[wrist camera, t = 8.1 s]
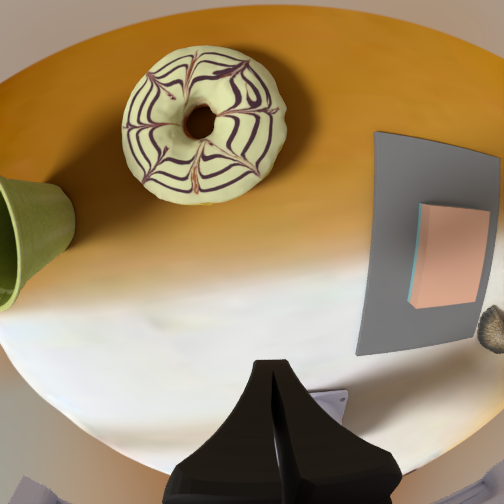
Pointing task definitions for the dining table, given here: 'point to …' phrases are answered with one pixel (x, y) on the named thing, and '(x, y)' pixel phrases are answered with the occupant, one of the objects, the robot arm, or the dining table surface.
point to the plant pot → (30, 232)
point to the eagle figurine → (491, 331)
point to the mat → (405, 234)
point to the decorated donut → (219, 141)
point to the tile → (448, 255)
